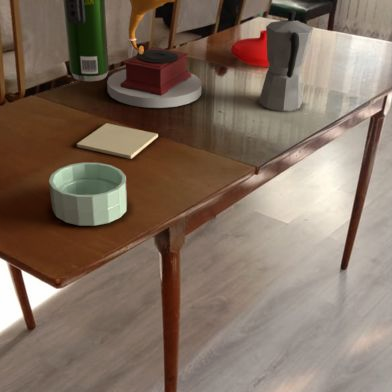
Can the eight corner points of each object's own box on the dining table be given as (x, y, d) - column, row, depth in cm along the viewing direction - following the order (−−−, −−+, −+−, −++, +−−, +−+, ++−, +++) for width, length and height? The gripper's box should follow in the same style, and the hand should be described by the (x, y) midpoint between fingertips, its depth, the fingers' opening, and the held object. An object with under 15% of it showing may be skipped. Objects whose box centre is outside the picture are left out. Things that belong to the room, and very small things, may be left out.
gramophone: (89, 95, 133) (78, -41, 117) (137, 69, 147) (134, -56, 131) (174, 115, 127) (176, -27, 110) (216, 85, 141) (224, -44, 124)
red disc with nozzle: (297, 57, 159) (301, 26, 155) (289, 76, 148) (293, 44, 143) (237, 50, 162) (239, 20, 157) (224, 68, 150) (226, 36, 146)
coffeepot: (255, 92, 138) (264, 1, 127) (297, 93, 139) (310, 3, 127) (263, 118, 127) (273, 21, 115) (309, 120, 127) (324, 23, 116)
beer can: (113, 80, 87) (107, -18, 79) (74, 83, 86) (65, -16, 78) (104, 68, 91) (98, -27, 83) (67, 70, 90) (57, -25, 82)
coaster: (131, 159, 110) (130, 155, 110) (76, 146, 113) (76, 143, 113) (157, 136, 118) (157, 133, 118) (106, 126, 121) (106, 123, 121)
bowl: (85, 235, 91) (82, 204, 87) (38, 208, 96) (34, 177, 93) (141, 209, 97) (141, 179, 94) (94, 185, 102) (92, 156, 99)
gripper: (66, -148, 78) (78, 3, 89) (15, -141, 68) (36, 29, 79) (123, -145, 77) (128, 7, 88) (80, -137, 67) (92, 35, 78)
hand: (85, 17), depth 84 cm, fingers closed on beer can, 5 cm apart
